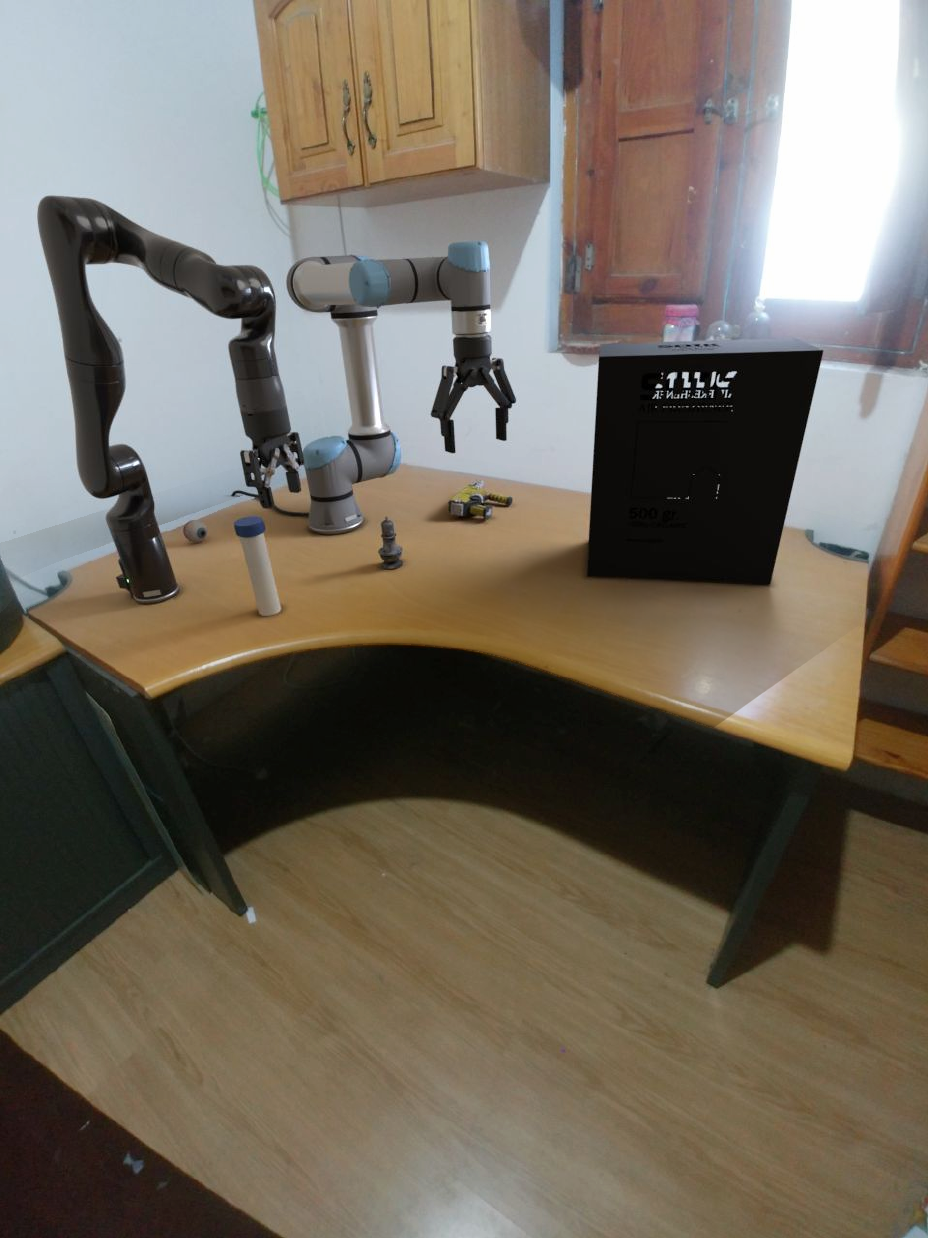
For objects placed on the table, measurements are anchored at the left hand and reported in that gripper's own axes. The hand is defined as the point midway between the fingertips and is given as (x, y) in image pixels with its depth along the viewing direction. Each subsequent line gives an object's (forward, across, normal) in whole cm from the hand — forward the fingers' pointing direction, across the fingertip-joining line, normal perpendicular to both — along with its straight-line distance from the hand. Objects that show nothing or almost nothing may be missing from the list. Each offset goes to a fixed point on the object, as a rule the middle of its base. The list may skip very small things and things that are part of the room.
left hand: (282, 499), depth 107 cm
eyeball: (+27, -33, -54) cm, 69 cm away
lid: (+7, -4, -12) cm, 14 cm away
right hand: (-2, -35, +25) cm, 43 cm away
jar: (+26, -4, -12) cm, 29 cm away
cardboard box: (+26, -46, +68) cm, 86 cm away
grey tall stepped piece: (+26, -31, +4) cm, 41 cm away
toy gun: (+26, -74, +15) cm, 80 cm away
